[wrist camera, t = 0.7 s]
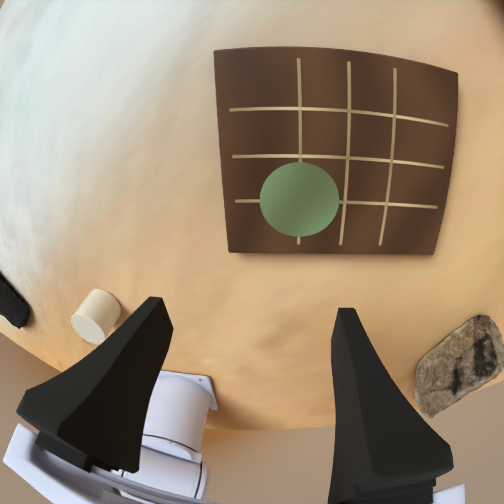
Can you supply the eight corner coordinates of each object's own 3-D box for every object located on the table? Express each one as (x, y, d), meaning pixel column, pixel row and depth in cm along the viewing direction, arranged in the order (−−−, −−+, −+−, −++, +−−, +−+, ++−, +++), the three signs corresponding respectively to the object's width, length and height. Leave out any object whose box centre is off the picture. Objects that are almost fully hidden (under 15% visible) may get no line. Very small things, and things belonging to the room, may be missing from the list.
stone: (398, 374, 29) (413, 424, 23) (473, 303, 23) (503, 352, 17) (430, 382, 30) (445, 425, 24) (496, 319, 24) (522, 362, 18)
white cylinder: (96, 315, 28) (80, 341, 25) (84, 287, 26) (64, 311, 23) (126, 319, 28) (111, 347, 25) (114, 289, 26) (96, 316, 23)
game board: (230, 244, 22) (228, 253, 21) (217, 52, 15) (212, 50, 14) (428, 247, 21) (434, 255, 20) (449, 72, 14) (459, 72, 12)
